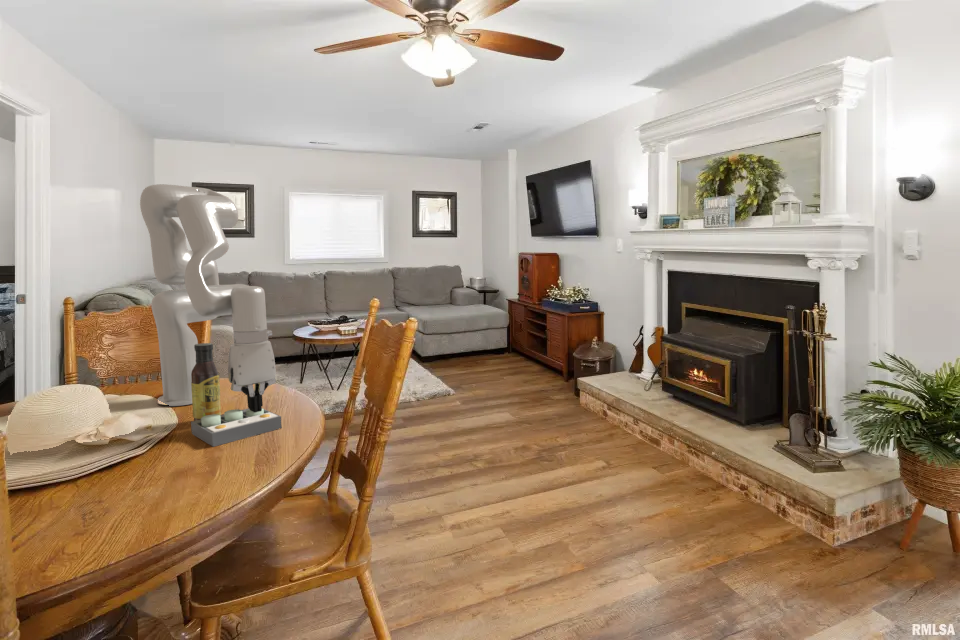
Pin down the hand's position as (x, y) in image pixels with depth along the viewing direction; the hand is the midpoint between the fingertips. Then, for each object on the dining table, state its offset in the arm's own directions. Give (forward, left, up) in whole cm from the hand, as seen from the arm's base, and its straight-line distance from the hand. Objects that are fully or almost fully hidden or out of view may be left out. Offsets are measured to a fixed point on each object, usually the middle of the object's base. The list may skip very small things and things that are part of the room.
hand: (255, 410), depth 130 cm
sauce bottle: (-11, -7, -4) cm, 13 cm away
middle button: (0, -5, -2) cm, 6 cm away
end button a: (0, -10, -2) cm, 11 cm away
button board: (+1, -5, -4) cm, 6 cm away
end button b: (0, 0, -3) cm, 3 cm away
